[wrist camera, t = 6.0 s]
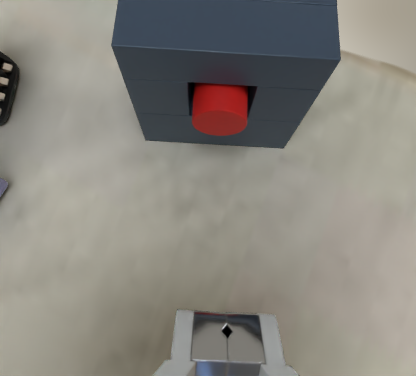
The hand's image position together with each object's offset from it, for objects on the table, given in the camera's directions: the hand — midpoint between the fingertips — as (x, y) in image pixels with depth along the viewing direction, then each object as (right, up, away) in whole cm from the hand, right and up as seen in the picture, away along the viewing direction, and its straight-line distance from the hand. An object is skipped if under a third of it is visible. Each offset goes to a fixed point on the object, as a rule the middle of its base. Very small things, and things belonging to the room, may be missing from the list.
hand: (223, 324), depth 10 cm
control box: (0, +11, +20) cm, 23 cm away
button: (0, +9, +14) cm, 17 cm away
